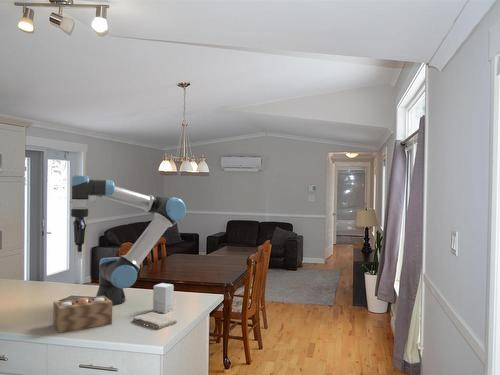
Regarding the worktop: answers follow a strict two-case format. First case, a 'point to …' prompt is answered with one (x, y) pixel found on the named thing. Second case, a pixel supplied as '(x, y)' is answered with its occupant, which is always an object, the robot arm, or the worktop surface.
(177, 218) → the robot arm
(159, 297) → the supplement box
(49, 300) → the worktop surface
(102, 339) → the worktop surface
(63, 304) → the grey plug
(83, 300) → the terracotta plug
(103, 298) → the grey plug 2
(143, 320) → the washcloth
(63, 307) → the walnut socket block
